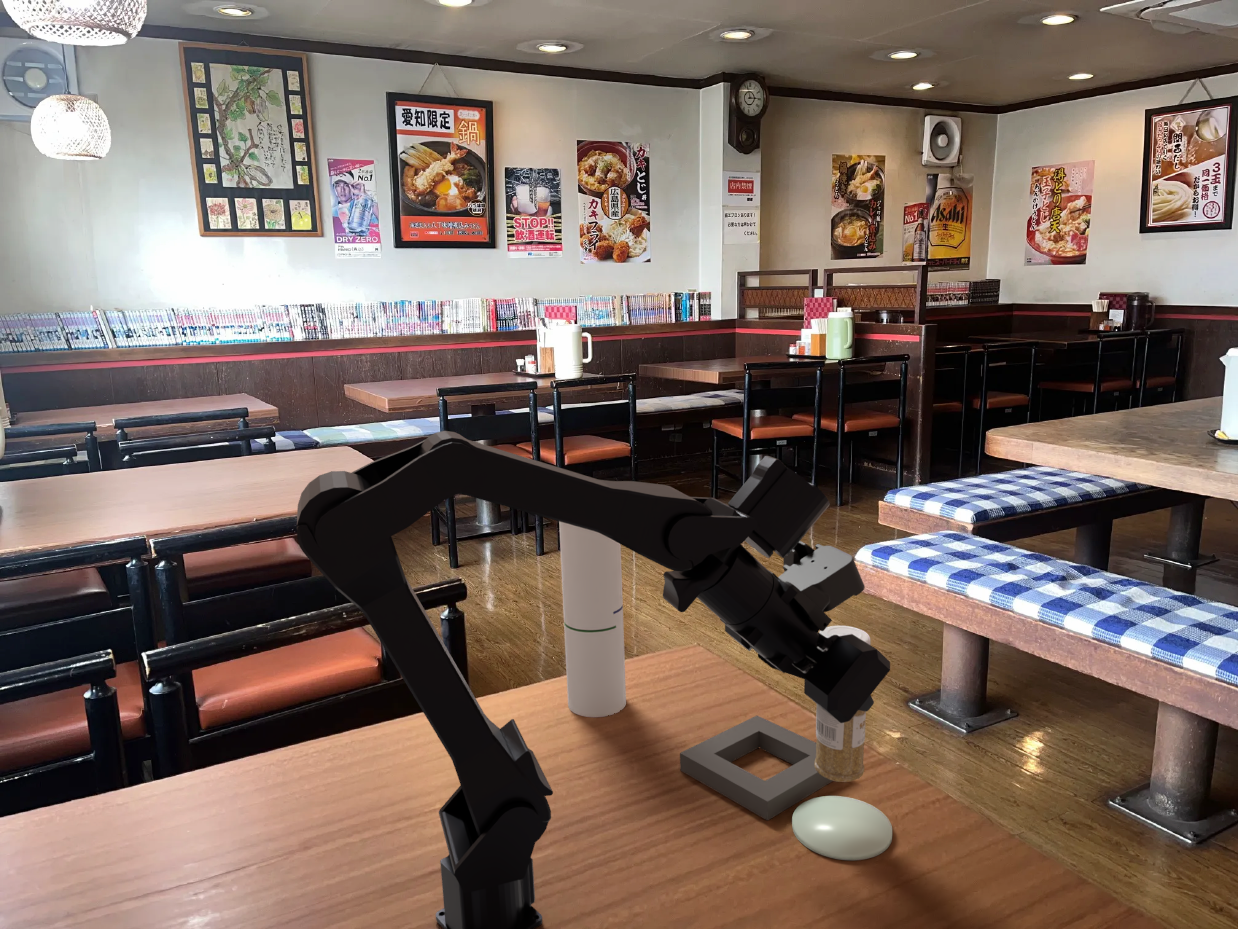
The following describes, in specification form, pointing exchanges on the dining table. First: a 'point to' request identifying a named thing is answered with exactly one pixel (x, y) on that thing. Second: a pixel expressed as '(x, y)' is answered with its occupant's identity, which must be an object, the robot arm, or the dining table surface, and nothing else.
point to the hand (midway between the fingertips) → (854, 695)
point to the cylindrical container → (593, 621)
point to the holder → (745, 788)
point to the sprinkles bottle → (840, 731)
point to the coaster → (842, 828)
